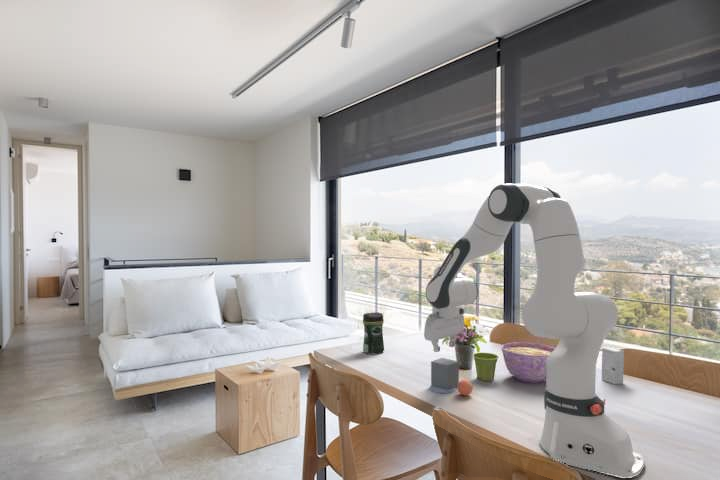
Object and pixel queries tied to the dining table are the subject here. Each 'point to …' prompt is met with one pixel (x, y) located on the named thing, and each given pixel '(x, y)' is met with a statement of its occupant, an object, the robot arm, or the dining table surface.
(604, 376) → the skincare box
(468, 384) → the ball
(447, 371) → the grey upright box
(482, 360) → the plant pot
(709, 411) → the dining table surface
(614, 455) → the robot arm
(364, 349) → the coffee jar
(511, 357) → the bowl of food
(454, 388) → the circle
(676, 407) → the dining table surface
